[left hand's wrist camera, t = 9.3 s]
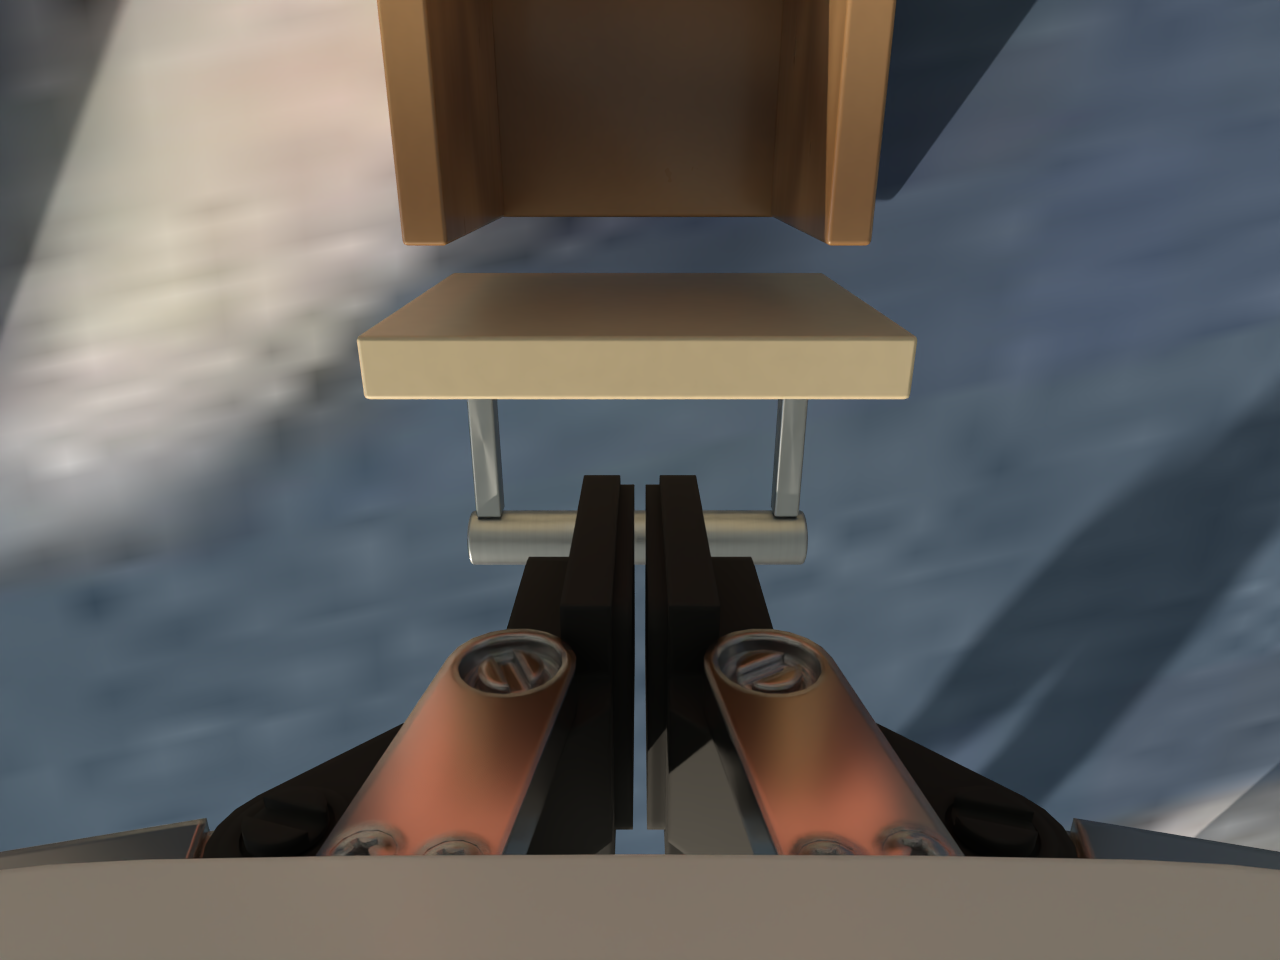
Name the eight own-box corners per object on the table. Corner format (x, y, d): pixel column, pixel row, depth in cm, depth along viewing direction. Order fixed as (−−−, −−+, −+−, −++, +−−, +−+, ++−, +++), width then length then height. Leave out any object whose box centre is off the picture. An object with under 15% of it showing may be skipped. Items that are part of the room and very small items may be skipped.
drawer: (805, 490, 24) (878, 641, 17) (470, 490, 24) (395, 641, 17) (902, -658, 15) (1153, -1428, 8) (370, -660, 15) (115, -1431, 8)
